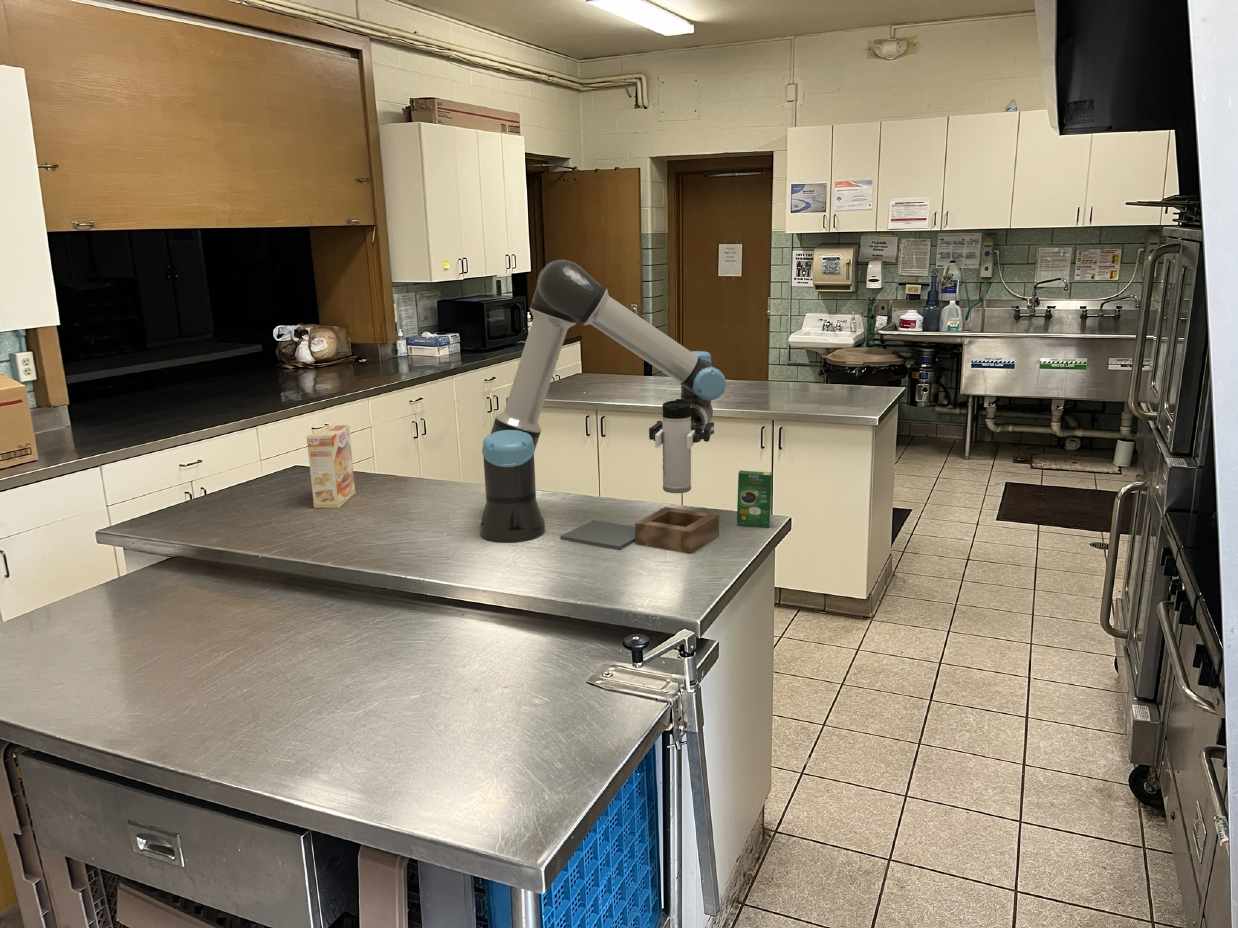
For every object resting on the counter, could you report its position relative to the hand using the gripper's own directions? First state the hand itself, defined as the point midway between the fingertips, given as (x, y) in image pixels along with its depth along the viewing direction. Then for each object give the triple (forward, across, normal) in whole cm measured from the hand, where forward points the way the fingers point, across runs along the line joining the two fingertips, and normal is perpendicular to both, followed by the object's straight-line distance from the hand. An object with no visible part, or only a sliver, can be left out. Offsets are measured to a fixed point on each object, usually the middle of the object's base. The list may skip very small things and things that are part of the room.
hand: (672, 441), depth 189 cm
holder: (-5, 0, -24) cm, 24 cm away
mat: (-5, +17, -24) cm, 30 cm away
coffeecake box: (-23, +97, -24) cm, 103 cm away
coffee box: (-19, -16, -24) cm, 34 cm away
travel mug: (-5, 0, -12) cm, 13 cm away
